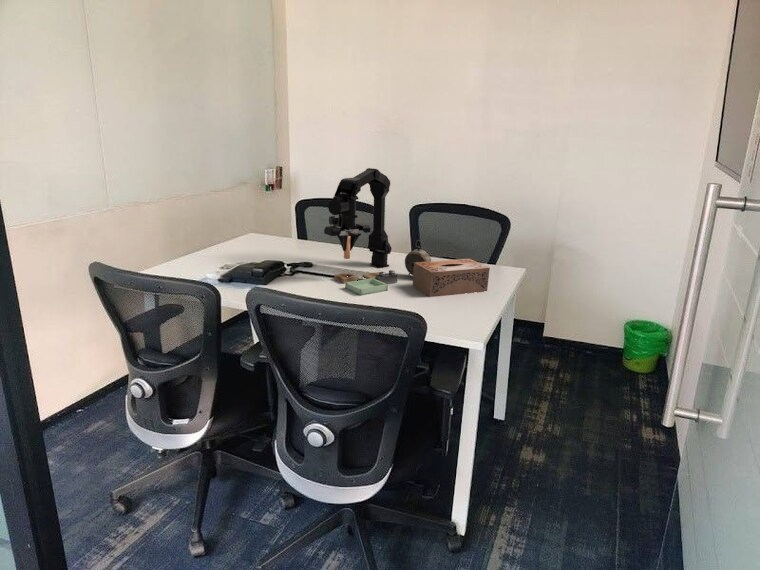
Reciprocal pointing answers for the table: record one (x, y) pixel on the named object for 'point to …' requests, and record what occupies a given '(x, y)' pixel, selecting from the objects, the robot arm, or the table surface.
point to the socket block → (345, 277)
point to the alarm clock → (415, 258)
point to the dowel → (347, 249)
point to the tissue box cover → (450, 277)
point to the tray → (366, 286)
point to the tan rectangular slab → (371, 275)
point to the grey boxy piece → (387, 277)
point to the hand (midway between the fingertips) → (347, 250)
